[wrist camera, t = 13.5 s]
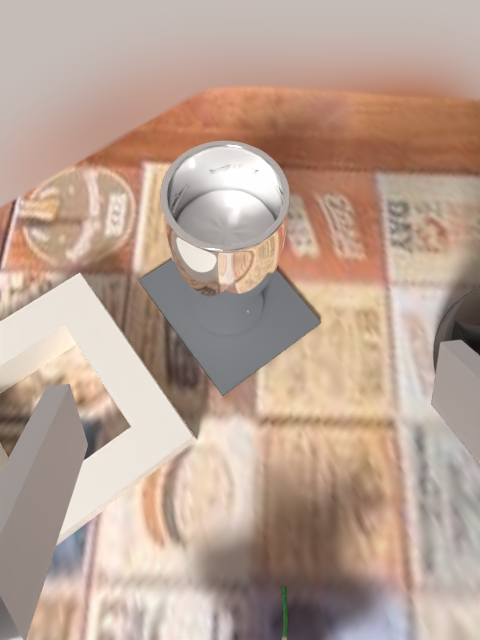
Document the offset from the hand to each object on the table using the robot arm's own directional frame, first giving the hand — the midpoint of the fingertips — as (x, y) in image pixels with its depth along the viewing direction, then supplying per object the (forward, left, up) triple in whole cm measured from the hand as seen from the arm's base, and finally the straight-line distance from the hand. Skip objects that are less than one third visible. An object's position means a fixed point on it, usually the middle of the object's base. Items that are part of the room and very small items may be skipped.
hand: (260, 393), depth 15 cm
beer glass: (-5, -9, -18) cm, 21 cm away
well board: (+11, -9, -19) cm, 23 cm away
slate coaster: (-5, -9, -19) cm, 21 cm away
